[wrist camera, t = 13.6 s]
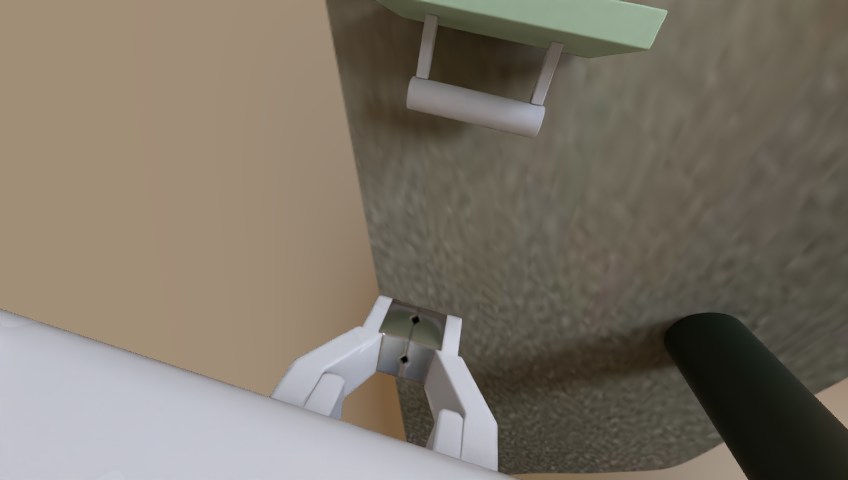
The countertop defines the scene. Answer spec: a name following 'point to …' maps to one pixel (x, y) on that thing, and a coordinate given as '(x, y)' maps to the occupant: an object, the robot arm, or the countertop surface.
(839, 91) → the countertop surface
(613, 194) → the countertop surface
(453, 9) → the drawer
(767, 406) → the wine bottle
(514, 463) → the countertop surface
